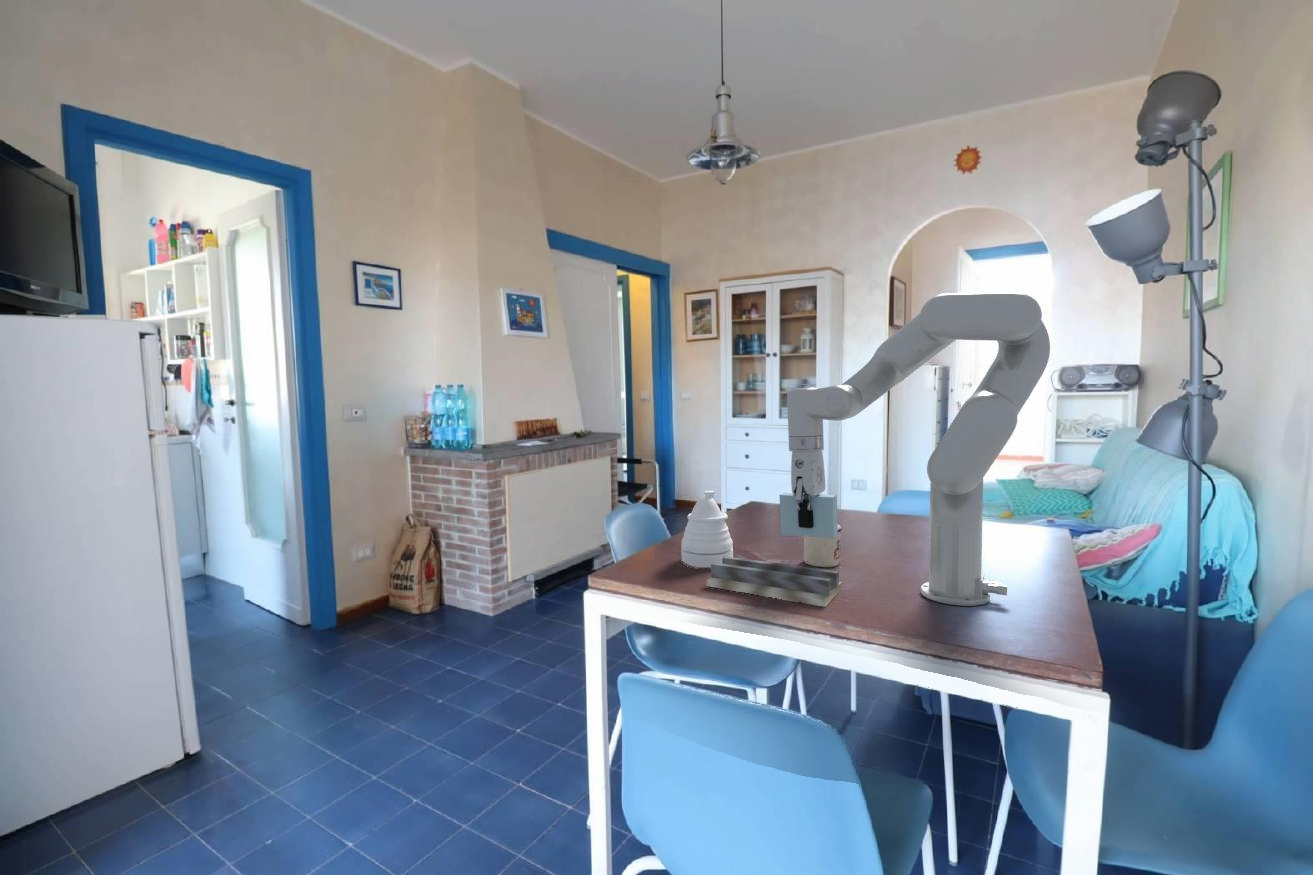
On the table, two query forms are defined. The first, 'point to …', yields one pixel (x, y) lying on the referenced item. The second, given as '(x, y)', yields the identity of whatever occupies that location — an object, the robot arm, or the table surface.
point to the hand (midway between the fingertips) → (808, 524)
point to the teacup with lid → (823, 550)
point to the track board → (776, 580)
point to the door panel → (822, 516)
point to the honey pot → (706, 534)
